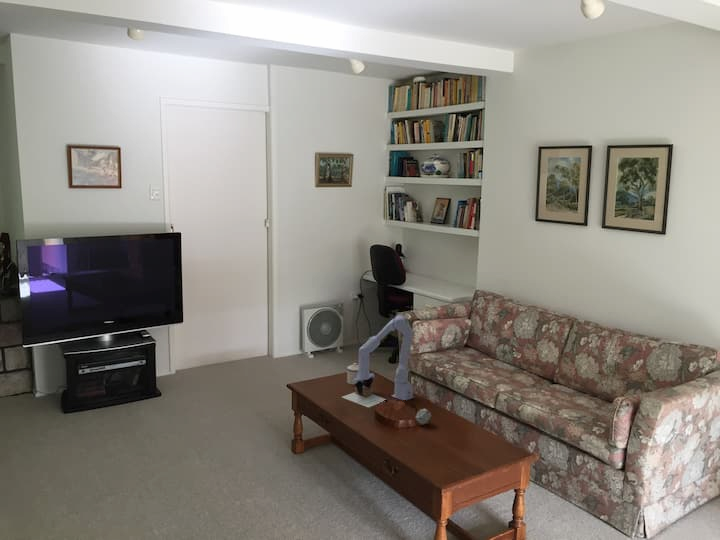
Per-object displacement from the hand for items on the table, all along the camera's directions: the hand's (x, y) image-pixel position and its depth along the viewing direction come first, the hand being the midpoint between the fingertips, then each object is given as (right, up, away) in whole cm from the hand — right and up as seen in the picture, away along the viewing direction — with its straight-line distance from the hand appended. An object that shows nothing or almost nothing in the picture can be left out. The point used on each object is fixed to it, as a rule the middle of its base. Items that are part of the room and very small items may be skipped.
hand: (363, 392), depth 334 cm
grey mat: (0, -2, -6) cm, 6 cm away
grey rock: (+28, -8, -37) cm, 47 cm away
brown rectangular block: (0, -1, 0) cm, 1 cm away
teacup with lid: (-6, +2, +21) cm, 22 cm away
